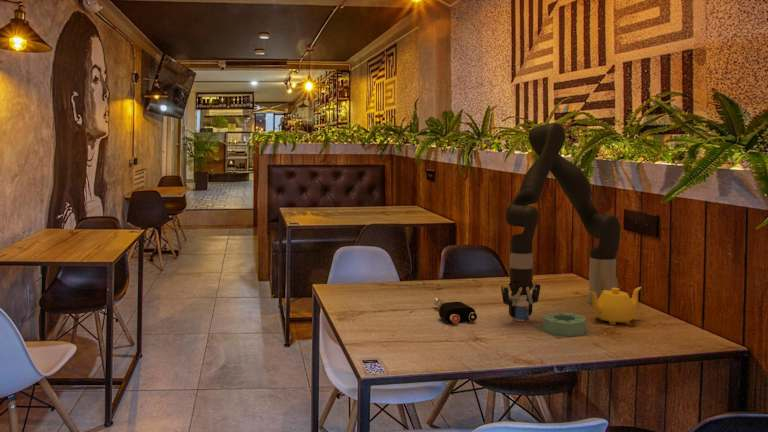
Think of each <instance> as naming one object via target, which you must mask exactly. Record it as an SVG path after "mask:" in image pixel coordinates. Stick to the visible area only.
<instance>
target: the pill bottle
mask: <svg viewBox="0 0 768 432" xmlns="http://www.w3.org/2000/svg"><path fill="white" fill-rule="evenodd" d="M526 299H527V295H519V298H518V300H517V301H516V304H515V317H511V322H512V323H513V324H515V325H528V324H529V322H530V321H529V320H530V319H529V317H530V316H529V302H528V301H527V300H526Z"/></svg>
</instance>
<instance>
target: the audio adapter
mask: <svg viewBox="0 0 768 432" xmlns="http://www.w3.org/2000/svg"><path fill="white" fill-rule="evenodd" d="M433 304H434V305H435V306H437V307H438V308H439V309H438V313H439V314H438V316H439V318H440V319H442V320H444V321H445V322H446V323H448V324H450V325H454V324H462V323H464V324H465V323H471V322H475V321H477V320H478V319H477V318H478V314H477V313H476V310H475V309H474V308H473V307H471V306H470V305H467V303H466V304H465V303H464V302H462V301H450V302H449V301H448V302H446V301H444V300H443V299H440V297H436V298H434V299H433Z"/></svg>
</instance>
